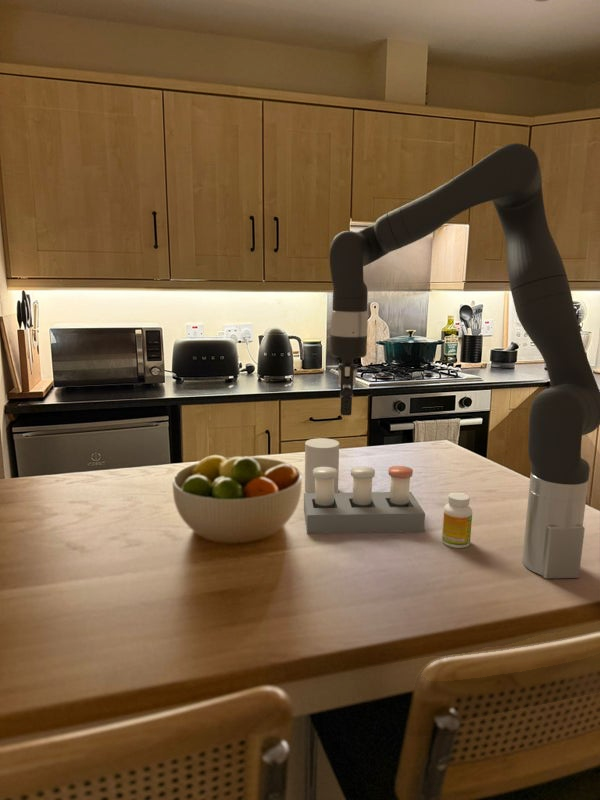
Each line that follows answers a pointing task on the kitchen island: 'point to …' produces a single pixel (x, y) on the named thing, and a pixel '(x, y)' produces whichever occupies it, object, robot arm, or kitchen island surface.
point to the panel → (363, 515)
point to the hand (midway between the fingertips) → (346, 410)
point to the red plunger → (400, 484)
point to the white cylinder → (320, 460)
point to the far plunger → (324, 485)
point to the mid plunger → (362, 484)
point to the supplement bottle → (457, 521)
